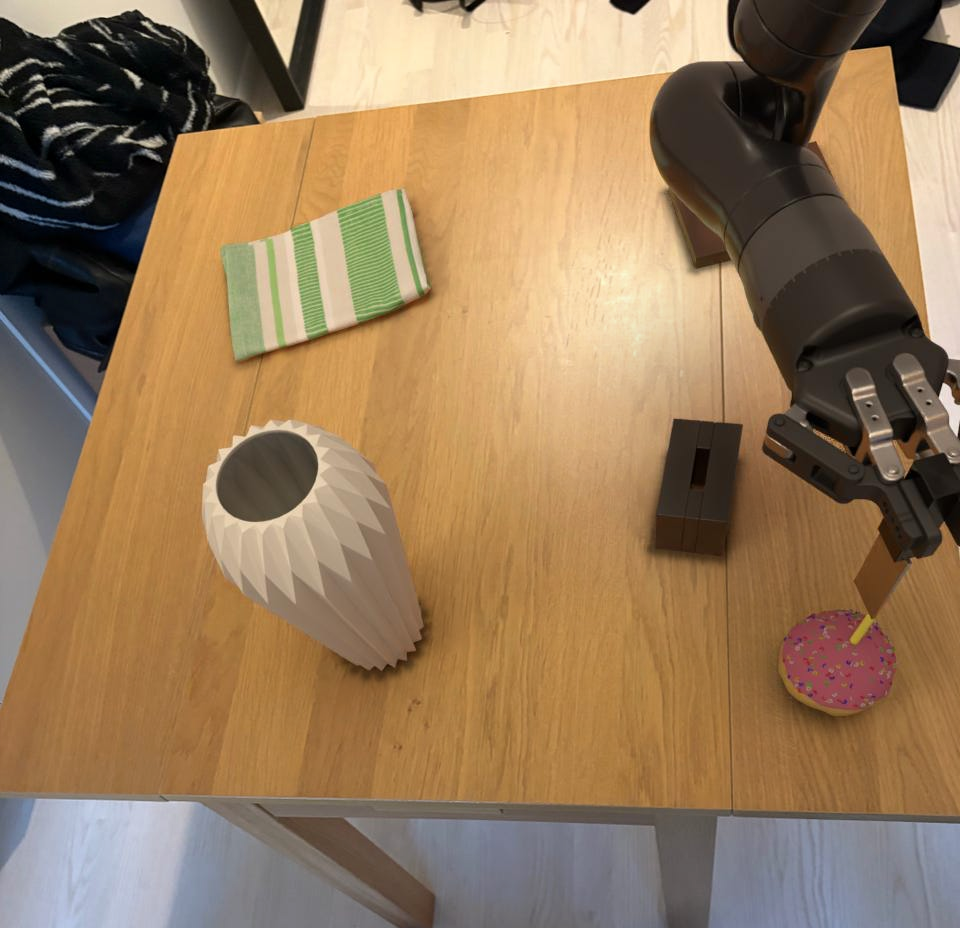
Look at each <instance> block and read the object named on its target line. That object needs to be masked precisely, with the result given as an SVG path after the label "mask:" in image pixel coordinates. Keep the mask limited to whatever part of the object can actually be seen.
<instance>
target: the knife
mask: <svg viewBox="0 0 960 928" xmlns="http://www.w3.org/2000/svg"><path fill="white" fill-rule="evenodd" d="M912 461H913V462H912V463H911V465H910V467H909V469H908V471H907V473H905V475H904V478H905V480H908V479H913V481H914V483H915V485H916V487H917V488H918V490H919V492H920V494H921V496H922V498H923V500H924V502H925V504H926V505H927V507H928V508H929V510H930V511H931V513H932V515H933V517H934V519H935V521H936V523H937V525H938V527H939V529H941V527H942V525H943V524H944V523H945V522H944V521H945V519H946V518H947V516H948V515H949V513H950V512H951V510H952V509H953V507H954V506H955V504H956V503H957V501H958V500H959V498H960V480H959V478H958V476H957V474H956V472H955V471H954V469H953V467H952V465H951V463H950V462H949V460H948V458H947V456H946V454H945V453H940V454H936V455H933V456H929V457H926V458H922V459H919V460H915V461H914V460H912ZM877 530H878V535H877V537H876V538H875V541H874V543H872V546H871V548H870V550H869V552H868V553H867V555H866V557H865V558H864V560H863V563H862V565H861V567H860V568H859V570H858V572H857V573H856V576H855V577H854V579H853V583H854V585H855V587H856V590H857V592H858V594H859V596H860V598H861V600H862V602H863V605H864V607H865V609H866V611H867V614H868V613H869V615H870V618H871V620H872V619H875V620H876V619H877V618H876V617H878V616H879V615H878V614H880V613H881V611H882V610H883V608H884V607H885V605H886V604H887V602H888V601H889V599H890V598H891V596H892V595H893V594H894V592H895V590H896V589H897V587H898V586H899V584H900V583H901V581H902V580H903V578H904V577H905V575H906V574H907V572H908V570H909V569H910V568H911V566H912V565H913V562H912V560H911V559H913V558H916V557H915V556H914V555H913V553H912V551H911V550H909V551H906V552H905V551H904V550H903V549H902V548H901V547H899V546H898V545H897V543H896V541H895V539H894V537H893V535H892V533H891V531H890V528H889V527H888V525H887V523H886V521H885V519H884V517H883V516H882V519H881V521H880V523H879V524H878V527H877Z"/></svg>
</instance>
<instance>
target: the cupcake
mask: <svg viewBox="0 0 960 928" xmlns="http://www.w3.org/2000/svg"><path fill="white" fill-rule="evenodd" d="M879 614H880V613H879ZM879 614H878V616H879ZM878 616H877V617H878ZM877 617H876V619H877ZM876 619H872V620H871V618H870V615H869V613H868V612H867V614H866V615H865V614H864V613H861V611H860V610H855V612H854V610H853V609H849V610H846V609H845V608H844V607H843V608H840V609H833V610H827V611H826V610H822V611H821V612H818V613H811V614H810V615H808V616H807V617H806V618H804V619H803V620H801V621H800V622H797V623H796V624H795V625H794V626H793V627H791V628H790V629H789V630H788V632H787V634H786V635H785V637H784V638H783V640H782V643H781V646H780V651H779V657H778V667H777V668H778V673H779V675H780V677H781V679H782V681H783V684H784V686H785V689H786V690H787V692H788V693H789V694H790V695H791V697H793V698H795V700H797V701H799V702H801V703H802V704H804V705H806V706H808V707H810V708H812V709H816V710H818V711H821V712H823V713H826V714H828V715H830V716H832V717H847V716H852V715H856V714H858V713H861V712H863V711H865V710H868V709H869V708H871V707H873V706H874V705H876V704H878V703H880V702H881V701H883V700H884V699H885V698H886V697H887V696H888V694H889V693H890V690H891V688H892V684H893V679H894V677H895V673H896V670H897V667H898V666H899V662H898V658H897V655H896V648H895V647H894V645H893V643H892V642H891V640H890V639H889V638H890V637H889V634H887V632H886V630H883V629H882V628H881V627H880V626H879V625H878V622H876Z"/></svg>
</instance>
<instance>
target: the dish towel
mask: <svg viewBox="0 0 960 928" xmlns="http://www.w3.org/2000/svg"><path fill="white" fill-rule="evenodd" d="M220 257H221V261H222V265H223V269H224V273H225V277H226V283H227V284H226V286H227V287H226V288H227V301H228V312H229V313H228V314H229V315H228V317H229V328H230V329H229V332H230V340H231V347H232V353H233V356H234V359H235V361H236V362H241V361H245V360H248V359H251V358H253V357H256V356H259V355H262V354H266V353H269V352H272V351H275V350H279V349H284V348H287V347H290V346H293V345H298V344H301V343H304V342H308V341H311V340H315V339H317V338H320V337H323V336H326V335H328V334H331V333H334V332H339V331H342V330H345V329H348V328H351V327H354V326H356V325H359V324H362V323H366V322H369V321H372V320H374V319H376V318H379V317H382V316H384V315H387V314H390V313H392V312H395V311H397V310H399V309H400V308H403V307H405V306H406V305H408V304H409V303H411V302H414V301H415V300H417V299H419V298H420V299H421V298H422V297H423V296H425V295H426V294H427V293H428V292H429V291H430V290H431V288H432V285H431V283H430V280H429V278H428V277H429V276H428V274H427V270H426V265H425V261H424V257H423V254H422V249H421V245H420V241H419V237H418V232H417V227H416V223H415V219H414V213H413V210H412V206H411V203H410V199H409V197H408V194H407V191H406V189H405V188H399V189H389V190H386V191H383V192H381V193H378V194H376V195H373V196H370V197H367V198H365V199H362V200H359V201H355V202H353V203H352V204H351V203H350V204H348V205H345V206H342V207H340V208H338V209H336V210H334V211H332V212H329V213H327V214H324V215H322V216H321V217H318V218H316V219H313V220H309V221H307V222H304V223H300V224H297V225H295V226H293V227H292V228H289V229H288V230H287V231H284V232H282V233H279V234H277V235H272V236H267V237H264V238H261V239H260V238H259V239H256V240H251V241H249V242H246V241H245V242H236V243H235V242H234V243H228V244H224V245H222V246H220Z"/></svg>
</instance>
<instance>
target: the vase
mask: <svg viewBox="0 0 960 928" xmlns="http://www.w3.org/2000/svg"><path fill="white" fill-rule="evenodd" d="M246 433H247V434H246V436H245V435H243V436H242V435H233V436H232V441H231V445H230V446H229V447H223V448H219V449H217V450H218V451H217V455H216V462H214V463H212V464H210V465H208V466H207V470H206V471H207V472H206V479H205V482H203V484H202V497H201V498H202V499H201V500H202V502H201V521H202V524H203V527H204V530H205V532H206V538H207V539H206V541H207V543H208V545H209V547H210V550H211V552H212V554H213V555H214V558H215V560H216V562H217V564H218V565H219V568H220V571H221V572H222V574H223V576H224V579H225V580H227V581H229V582H230V583H232V584H233V585H235V586H236V587H238V589H239V590H240V592H241V593H242V595H243V596H245V597H246V598H248V599H250V600H251V601H252V602H254V603H256V604H257V605H259V607H260V606H261V608H263V609H265V610H267V611H268V612H270V613H271V614H273V615H274V616H276V617H278V618H280V619H281V620H282V621H284V622H286V623H288V624H289V625H290V626H292V627H294V628H295V629H297V630H299V631H300V632H302V633H303V634H305V635H306V636H308V637H310V638H312V639H313V640H314V641H316V642H317V643H320V644H321V645H323V646H324V647H326V648H327V649H329V650H331V651H332V652H334V653H336V654H337V655H338V656H340V657H342V658H344V659H345V660H347V661H348V662H350V663H352V664H353V665H355V666H357V667H358V666H361V667H362V668H364V669H366V670H367V671H371V670H372V669H373V668H374V667H375V668H377V669H378V670H379V671H381V672H383V671H384V669H385V668H386V666H387V665H389V666H391V667H393V668H395V669H396V666H397V663H398V660H401V661H404V662H405V661H406V662H407V661H408V653H410V652H416V651H417V648H416V647H415V644H414V643H416V642H418V641H421V640H422V639H423V638H422V633H421V632H420V630H422V629H423V628H424V627H425V626H424V621H423V618H422V615H423V614H422V610H421V606H420V602H419V599H418V595H417V592H416V587H415V583H414V580H413V576H412V572H411V569H410V566H409V562H408V558H407V554H406V550H405V547H404V543H403V540H402V536H401V532H400V529H399V525H398V522H397V518H396V513H395V510H394V507H393V503H392V499H391V496H390V493H389V488H388V485H387V483H386V482H385V481H384V480H383V479H382V478H381V477H380V476H379V475H378V473H377V469H376V467H375V464H374V463H373V462H372V461H370V460H369V459H368V458H367V457H366V456H365V455H364V454H363V453H362V452H360V451H359V450H358V449H357V448H356V447H354V445H352V444H351V443H350V442H349V441H348V440H347V439H345V437H342V436H340V435H337V434H335V433H332V432H330V431H328V430H327V429H326V428H324V427H322V426H318V425H314V424H312V423H307V422H303V421H299V420H296V419H291V418H290V419H288V420H286V421H282V420H277V419H270V420H269V421H268V422H267V423H266V424H265V425H264V426H261V425H254V424H251V425H250V426H249V429H248V432H246Z"/></svg>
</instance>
